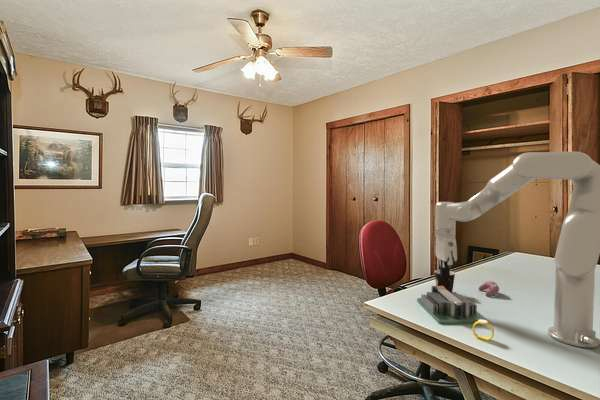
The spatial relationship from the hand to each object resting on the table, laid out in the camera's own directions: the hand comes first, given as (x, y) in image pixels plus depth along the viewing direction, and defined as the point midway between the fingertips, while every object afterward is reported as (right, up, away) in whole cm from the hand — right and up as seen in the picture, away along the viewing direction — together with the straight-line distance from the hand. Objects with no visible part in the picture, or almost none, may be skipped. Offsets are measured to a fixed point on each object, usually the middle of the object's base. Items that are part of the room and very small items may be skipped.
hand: (444, 276), depth 128 cm
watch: (+1, -14, -25) cm, 29 cm away
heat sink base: (0, -13, -3) cm, 13 cm away
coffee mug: (+7, -12, +16) cm, 22 cm away
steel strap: (0, -7, -3) cm, 8 cm away
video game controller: (+28, -12, +17) cm, 36 cm away
